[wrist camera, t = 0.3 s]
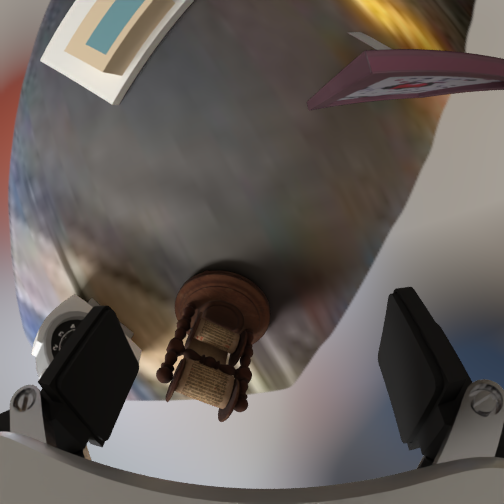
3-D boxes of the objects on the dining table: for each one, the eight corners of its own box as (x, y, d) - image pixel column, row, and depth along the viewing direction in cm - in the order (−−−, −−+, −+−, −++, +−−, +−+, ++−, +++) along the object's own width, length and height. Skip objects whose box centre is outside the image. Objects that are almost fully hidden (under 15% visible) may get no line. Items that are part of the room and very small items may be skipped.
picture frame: (308, 110, 33) (376, 93, 10) (289, 40, 29) (312, -73, 6) (423, 97, 30) (567, 103, 8) (406, 32, 26) (528, -22, 4)
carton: (133, -14, 24) (116, -26, 19) (175, 3, 25) (161, -11, 21) (84, 55, 28) (63, 51, 24) (121, 75, 30) (102, 72, 25)
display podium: (116, -40, 22) (111, -44, 20) (203, -10, 26) (200, -16, 24) (47, 61, 30) (40, 60, 28) (119, 104, 33) (112, 104, 32)
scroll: (168, 317, 48) (126, 410, 30) (198, 249, 42) (149, 343, 24) (244, 351, 50) (232, 449, 32) (287, 291, 44) (292, 399, 26)
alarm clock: (153, 341, 51) (114, 428, 33) (133, 359, 54) (96, 436, 36) (80, 279, 46) (15, 351, 28) (66, 303, 49) (11, 370, 31)
